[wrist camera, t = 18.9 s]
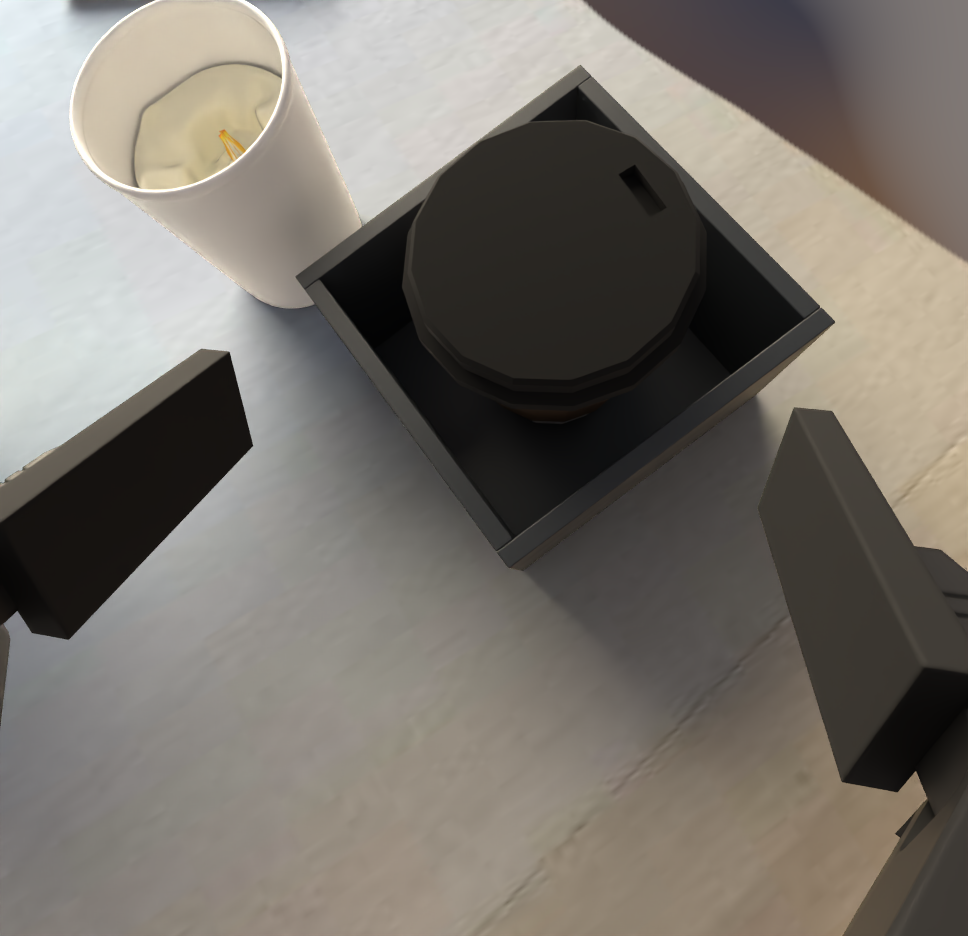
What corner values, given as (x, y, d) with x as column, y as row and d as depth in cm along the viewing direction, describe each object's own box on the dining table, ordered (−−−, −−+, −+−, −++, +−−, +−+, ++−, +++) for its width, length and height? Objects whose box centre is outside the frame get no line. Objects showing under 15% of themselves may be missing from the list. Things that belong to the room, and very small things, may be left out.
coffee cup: (586, 239, 33) (603, 51, 21) (698, 399, 30) (787, 288, 19) (418, 338, 33) (341, 206, 21) (516, 505, 30) (490, 461, 19)
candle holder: (409, 225, 35) (335, 50, 24) (308, 352, 35) (181, 237, 23) (291, 150, 37) (170, -45, 26) (194, 268, 37) (23, 124, 25)
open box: (361, 353, 34) (294, 276, 25) (574, 194, 34) (580, 63, 26) (522, 571, 31) (508, 569, 22) (757, 393, 31) (836, 321, 22)
